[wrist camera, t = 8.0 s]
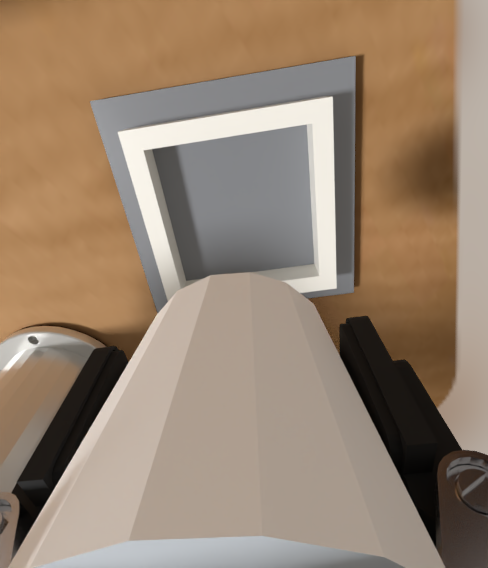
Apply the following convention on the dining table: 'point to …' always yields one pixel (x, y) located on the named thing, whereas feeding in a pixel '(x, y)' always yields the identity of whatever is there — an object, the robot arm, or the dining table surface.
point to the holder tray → (240, 177)
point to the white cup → (231, 450)
